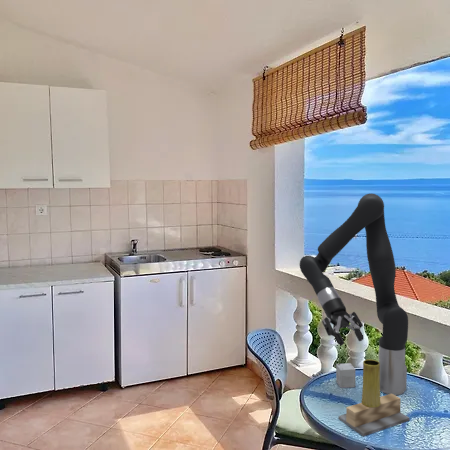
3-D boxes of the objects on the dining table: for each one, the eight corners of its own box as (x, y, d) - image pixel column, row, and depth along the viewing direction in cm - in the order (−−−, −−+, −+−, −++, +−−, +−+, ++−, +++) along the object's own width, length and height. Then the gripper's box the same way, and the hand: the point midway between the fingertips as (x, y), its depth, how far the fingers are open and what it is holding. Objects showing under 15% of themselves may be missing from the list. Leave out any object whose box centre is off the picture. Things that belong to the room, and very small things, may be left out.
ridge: (383, 404, 168) (383, 388, 167) (409, 420, 157) (409, 403, 156) (338, 418, 159) (338, 402, 158) (363, 436, 148) (363, 418, 148)
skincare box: (355, 387, 181) (355, 369, 180) (340, 388, 181) (340, 370, 180) (350, 380, 187) (350, 362, 186) (335, 381, 187) (335, 363, 186)
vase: (381, 408, 153) (382, 366, 152) (362, 407, 155) (362, 365, 153) (379, 399, 159) (380, 359, 157) (360, 398, 160) (361, 358, 159)
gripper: (319, 299, 167) (340, 341, 158) (351, 294, 173) (373, 333, 164) (310, 310, 172) (330, 351, 163) (341, 304, 178) (362, 343, 169)
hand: (352, 342), depth 163 cm, fingers open, 8 cm apart
